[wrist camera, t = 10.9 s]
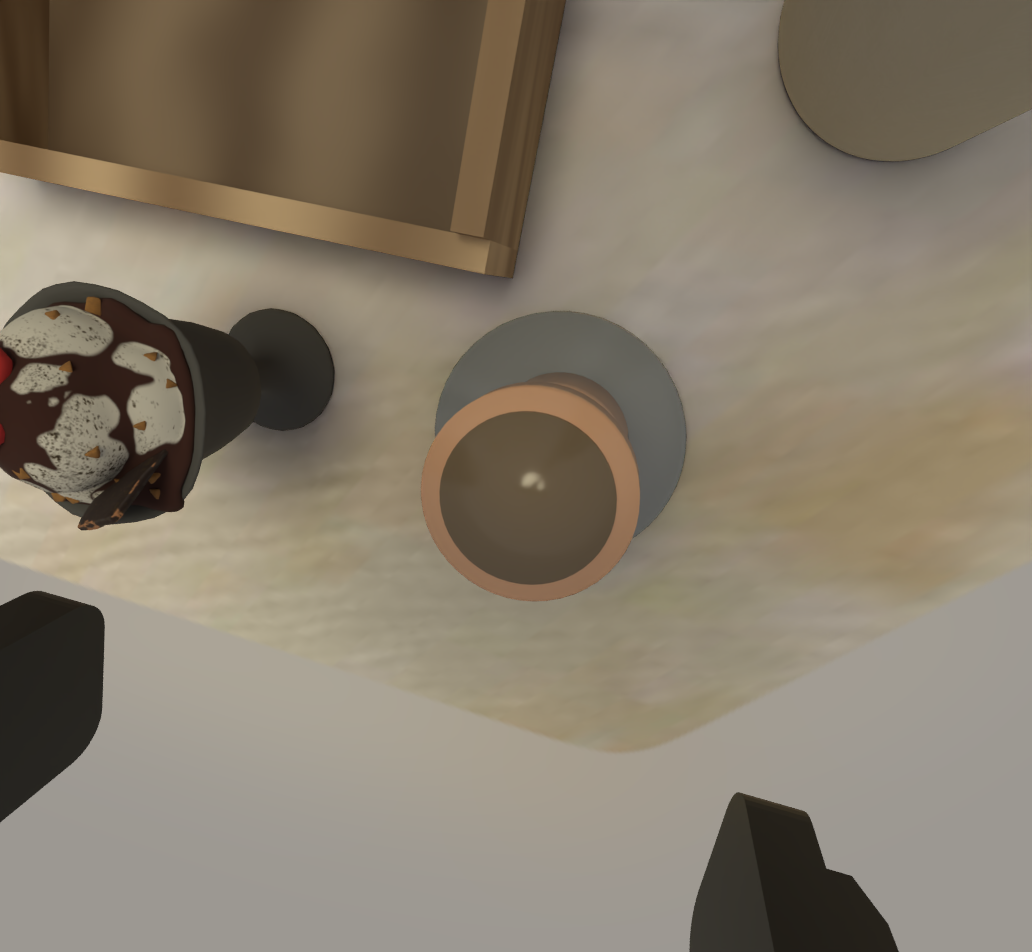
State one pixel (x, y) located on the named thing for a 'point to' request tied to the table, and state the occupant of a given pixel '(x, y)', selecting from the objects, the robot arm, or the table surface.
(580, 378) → the clay pot
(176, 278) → the table surface
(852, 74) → the travel mug
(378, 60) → the box
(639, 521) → the slate saucer
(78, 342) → the sundae
